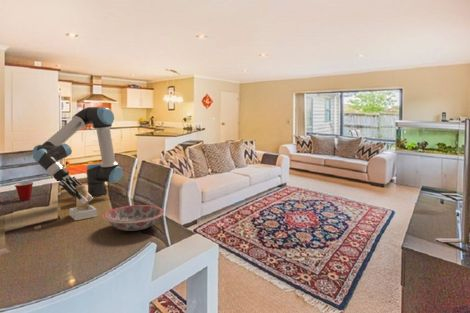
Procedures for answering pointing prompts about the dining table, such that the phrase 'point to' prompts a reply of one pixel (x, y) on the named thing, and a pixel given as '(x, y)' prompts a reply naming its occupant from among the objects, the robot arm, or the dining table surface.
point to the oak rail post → (84, 191)
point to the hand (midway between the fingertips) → (88, 200)
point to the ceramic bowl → (133, 217)
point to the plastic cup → (24, 190)
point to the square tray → (83, 213)
